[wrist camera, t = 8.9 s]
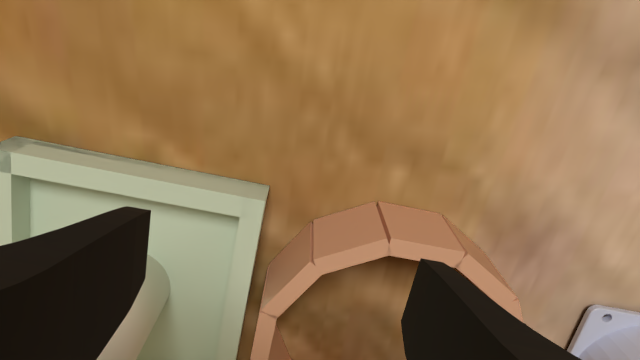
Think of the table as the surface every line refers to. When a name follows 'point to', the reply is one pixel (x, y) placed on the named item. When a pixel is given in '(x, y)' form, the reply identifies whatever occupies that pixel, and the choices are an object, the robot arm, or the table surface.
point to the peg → (140, 315)
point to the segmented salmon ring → (362, 246)
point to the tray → (164, 234)
